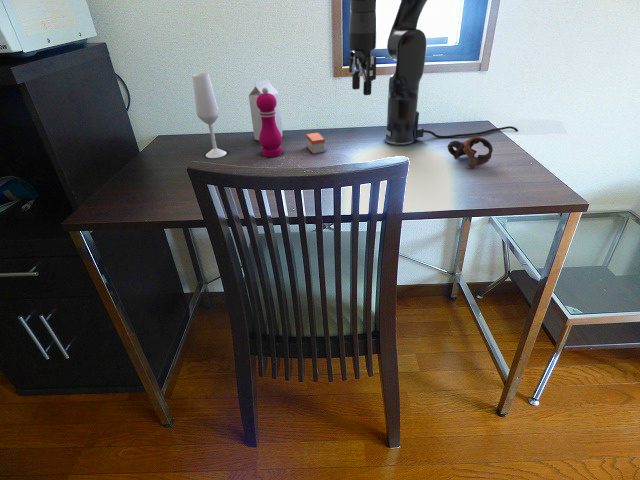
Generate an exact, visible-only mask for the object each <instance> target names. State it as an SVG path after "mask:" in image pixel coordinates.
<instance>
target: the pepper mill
mask: <svg viewBox="0 0 640 480" xmlns="http://www.w3.org/2000/svg"><path fill="white" fill-rule="evenodd" d="M262 92H263V94H260V95H259V96H258V97H257V100H256V104H257V107H258V108H259V109H260V111H259V113H260V114H259V115H260V116H261V119H262V129H261V132H260V136H259V140H258V143H259V145H260V146H261V147H262V148H261V154H262V156H263V157H266V158H276V157H279V156H281V155H282V153H283V150H282V146H281V145H282V144H283V137H282V136H281V133H280V131H279V130H278V128H277V126H276V122H275V115H276V110H275V107H276V105H277V101H276V98H275V97H274V95H272V94H270V93H268V89H267V88H263V89H262Z"/></svg>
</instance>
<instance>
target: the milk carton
mask: <svg viewBox="0 0 640 480" xmlns="http://www.w3.org/2000/svg"><path fill="white" fill-rule="evenodd" d="M263 88H267V89H268V93H270V94H272V95H274V97H275V98H276V101H277V105H276V107H275V110H276V115H275V122H276V126H277V128H278V130H279V131H280V133H281V136H282V138H283V125H282V115H281V113H282V112H281V104H280V93H279V91H278V90H277V89H276V88H275V87H274V85H272V83H271V82H270V79H269V78H268V79H264V80H261V81H258V82H255V83H254V87H253V89H252V90H251V92H249V94H248V100H249V108H250V115H251V123H252V130H253V137H254V140H255V141H259V136H260V132H261V129H262V119H261V116H260V115H259V114H260V113H259V111H260V109H259V108H258V107H257V104H256V100H257V97H258V96H259V95H260V94H263V92H262V89H263Z"/></svg>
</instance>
